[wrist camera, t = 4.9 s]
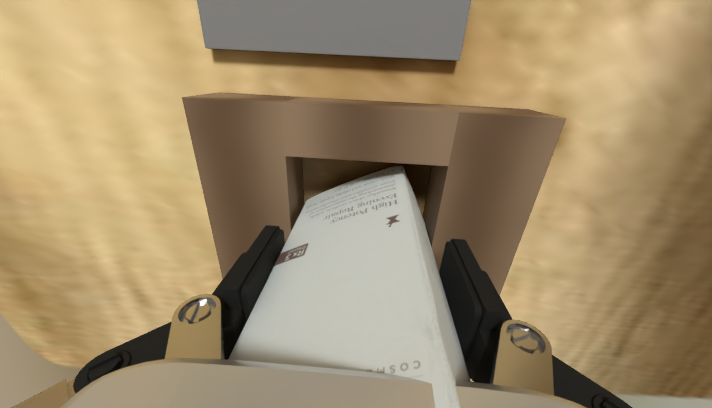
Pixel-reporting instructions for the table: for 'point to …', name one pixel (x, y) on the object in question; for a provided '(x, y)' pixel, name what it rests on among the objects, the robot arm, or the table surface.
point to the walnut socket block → (377, 144)
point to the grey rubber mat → (338, 27)
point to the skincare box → (359, 291)
